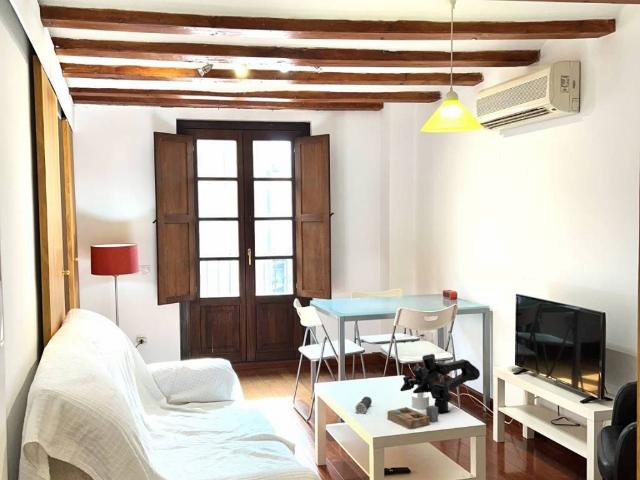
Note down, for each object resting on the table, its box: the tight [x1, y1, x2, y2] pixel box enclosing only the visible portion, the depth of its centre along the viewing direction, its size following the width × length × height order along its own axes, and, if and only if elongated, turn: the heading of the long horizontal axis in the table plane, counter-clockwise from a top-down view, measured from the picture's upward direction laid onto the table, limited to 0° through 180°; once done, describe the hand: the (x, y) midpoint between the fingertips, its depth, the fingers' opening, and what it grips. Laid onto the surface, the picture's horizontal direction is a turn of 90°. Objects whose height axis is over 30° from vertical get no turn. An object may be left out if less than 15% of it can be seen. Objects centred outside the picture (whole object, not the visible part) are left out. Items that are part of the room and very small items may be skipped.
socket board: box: [387, 407, 431, 430], centre depth 320 cm, size 12×18×5 cm, turn 31°
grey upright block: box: [425, 404, 439, 424], centre depth 321 cm, size 4×4×7 cm
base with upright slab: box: [411, 385, 430, 410], centre depth 344 cm, size 9×9×12 cm
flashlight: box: [355, 396, 373, 415], centre depth 341 cm, size 15×5×5 cm, turn 162°
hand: (407, 391), depth 321 cm, fingers open, 9 cm apart
